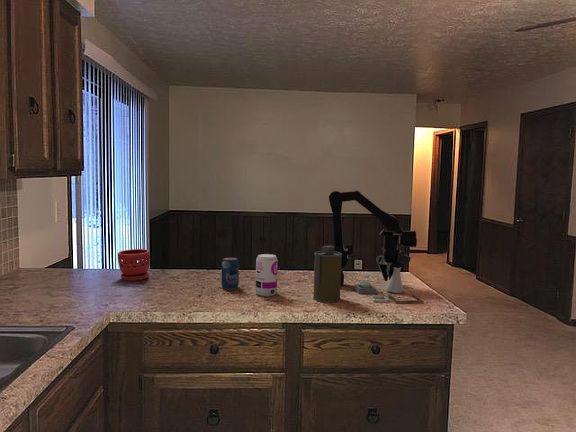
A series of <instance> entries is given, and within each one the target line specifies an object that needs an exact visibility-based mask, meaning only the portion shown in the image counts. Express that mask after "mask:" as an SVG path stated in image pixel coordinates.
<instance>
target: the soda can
mask: <svg viewBox="0 0 576 432" xmlns="http://www.w3.org/2000/svg"><path fill="white" fill-rule="evenodd" d="M239 274H240V262H239V260H238V258H237V257H232V256H230V257H227V256H226V257H223V258H222V261H221V278H220V279H221V284H220V285H221V287H222V288H223V290H231V291H232V290H236V289H238V287H239V285H240V275H239Z"/></svg>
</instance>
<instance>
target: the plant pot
mask: <svg viewBox="0 0 576 432" xmlns="http://www.w3.org/2000/svg"><path fill="white" fill-rule="evenodd" d="M150 258H151V255H150V250H149V249H146V248H145V249H144V248H143V249H142V248H140V249H139V248H137V249H136V248H134V249H126V250H125V249H124V250H120V251H117V263H118V267H119V270H120V272H121V274H120V278H121V279H122V280H124V281H128V282H129V281H132V282H135V281H141V280H144V279H147V278H148V277H149V276H150V272H149V271H148V270H149V267H150V263H151V262H150V260H151V259H150Z"/></svg>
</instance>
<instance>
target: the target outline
mask: <svg viewBox="0 0 576 432" xmlns="http://www.w3.org/2000/svg"><path fill="white" fill-rule="evenodd" d="M387 295H388V296H387V298H388V299H390V300H392V301H393V302H394V303H395V304H398V305H399V304H401V305H402V304H405V305H406V304H424V300H423V299H421V298H420V297H418V296H417V295H416V294H412V295H411V296H412V298H414V299H415V300H407V299H405V300H397V299H396V298H395V297H393V296H392V295H391V294H387Z"/></svg>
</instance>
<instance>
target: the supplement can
mask: <svg viewBox="0 0 576 432" xmlns="http://www.w3.org/2000/svg"><path fill="white" fill-rule="evenodd" d="M278 261H279V260H278V257H277V255H276V254H270V253H262V254H258V255H257V257H256V259H255V262H256V263H255V294H257V296H261V297H272V296H275V295H276V294H277V293H278V267H279V266H278V264H279V262H278Z"/></svg>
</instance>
